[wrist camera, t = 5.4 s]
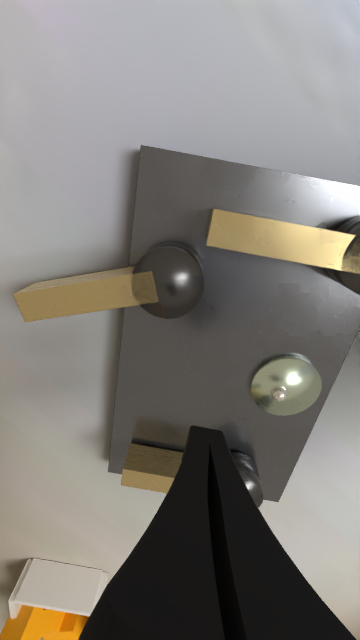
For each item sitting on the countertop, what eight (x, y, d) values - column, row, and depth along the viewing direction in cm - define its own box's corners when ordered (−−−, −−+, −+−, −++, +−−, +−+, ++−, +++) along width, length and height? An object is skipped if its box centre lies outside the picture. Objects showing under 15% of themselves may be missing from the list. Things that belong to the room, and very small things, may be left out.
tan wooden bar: (408, 222, 14) (443, 226, 12) (376, 290, 16) (403, 303, 14) (215, 186, 14) (218, 184, 12) (201, 258, 16) (202, 266, 14)
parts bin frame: (108, 571, 31) (97, 614, 27) (99, 642, 37) (89, 684, 34) (28, 557, 30) (8, 599, 27) (33, 631, 37) (17, 672, 34)
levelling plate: (403, 197, 15) (435, 197, 13) (274, 488, 24) (281, 514, 22) (145, 149, 15) (136, 141, 13) (112, 459, 24) (104, 483, 22)
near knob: (198, 235, 15) (198, 241, 13) (207, 299, 16) (208, 313, 14) (29, 265, 16) (5, 274, 14) (50, 322, 18) (31, 338, 16)
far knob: (263, 456, 21) (270, 484, 19) (250, 489, 22) (255, 518, 20) (131, 433, 21) (124, 458, 19) (126, 467, 22) (119, 494, 20)
